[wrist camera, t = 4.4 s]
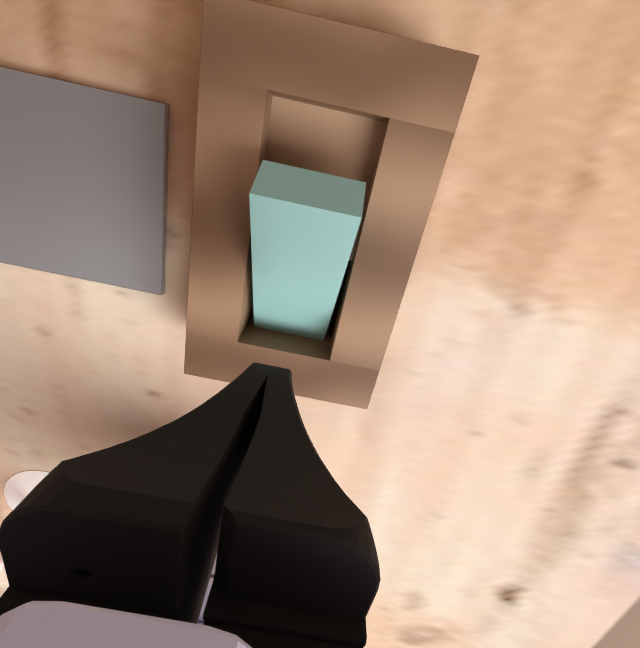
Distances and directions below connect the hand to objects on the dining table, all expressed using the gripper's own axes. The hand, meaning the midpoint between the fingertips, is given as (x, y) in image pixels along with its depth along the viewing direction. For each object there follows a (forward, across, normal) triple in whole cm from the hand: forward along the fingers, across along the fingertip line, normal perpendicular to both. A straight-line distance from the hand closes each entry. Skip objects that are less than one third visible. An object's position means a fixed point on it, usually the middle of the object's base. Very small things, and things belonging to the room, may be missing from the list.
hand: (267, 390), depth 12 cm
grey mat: (+10, +13, -3) cm, 17 cm away
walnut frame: (+10, 0, -3) cm, 10 cm away
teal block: (+7, 0, -3) cm, 8 cm away
